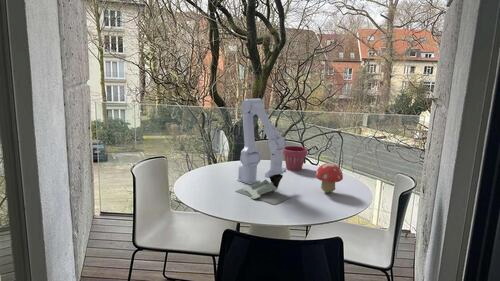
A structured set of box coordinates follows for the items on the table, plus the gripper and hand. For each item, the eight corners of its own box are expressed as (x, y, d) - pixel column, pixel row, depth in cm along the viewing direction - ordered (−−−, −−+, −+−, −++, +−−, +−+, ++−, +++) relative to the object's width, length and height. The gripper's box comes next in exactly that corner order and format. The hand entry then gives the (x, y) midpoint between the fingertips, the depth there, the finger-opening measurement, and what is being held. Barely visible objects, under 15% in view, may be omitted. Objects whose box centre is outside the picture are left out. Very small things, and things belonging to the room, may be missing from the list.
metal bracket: (266, 175, 189) (279, 185, 176) (269, 186, 191) (281, 196, 177) (240, 185, 185) (251, 196, 172) (243, 196, 187) (254, 207, 173)
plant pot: (279, 170, 222) (280, 149, 219) (284, 164, 235) (285, 144, 232) (303, 173, 218) (305, 152, 215) (307, 167, 231) (308, 147, 228)
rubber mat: (235, 191, 183) (235, 190, 183) (253, 185, 193) (253, 185, 193) (274, 205, 168) (274, 204, 168) (291, 198, 177) (291, 197, 177)
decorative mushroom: (321, 198, 179) (323, 167, 176) (309, 188, 191) (311, 160, 188) (346, 196, 182) (349, 166, 179) (333, 187, 195) (335, 159, 192)
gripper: (273, 166, 174) (272, 194, 177) (291, 161, 185) (290, 187, 188) (262, 163, 179) (260, 190, 182) (280, 158, 190) (278, 184, 192)
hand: (274, 188), depth 185 cm, fingers closed
